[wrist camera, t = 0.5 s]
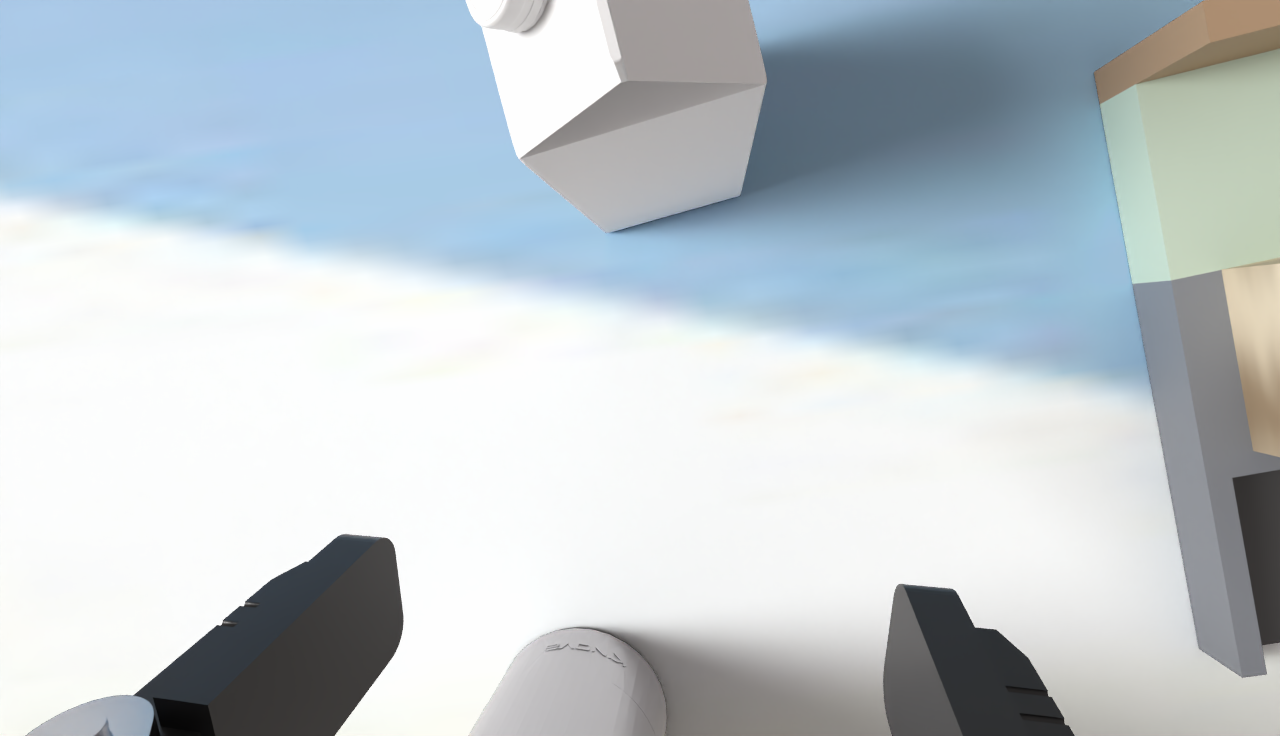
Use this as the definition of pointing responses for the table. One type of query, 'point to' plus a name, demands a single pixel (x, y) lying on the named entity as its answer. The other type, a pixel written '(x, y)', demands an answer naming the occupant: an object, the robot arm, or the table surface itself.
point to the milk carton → (628, 99)
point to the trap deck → (1205, 291)
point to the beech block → (1257, 346)
